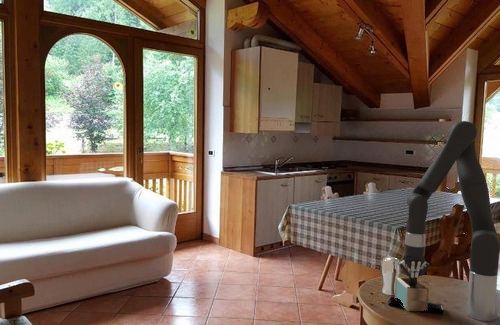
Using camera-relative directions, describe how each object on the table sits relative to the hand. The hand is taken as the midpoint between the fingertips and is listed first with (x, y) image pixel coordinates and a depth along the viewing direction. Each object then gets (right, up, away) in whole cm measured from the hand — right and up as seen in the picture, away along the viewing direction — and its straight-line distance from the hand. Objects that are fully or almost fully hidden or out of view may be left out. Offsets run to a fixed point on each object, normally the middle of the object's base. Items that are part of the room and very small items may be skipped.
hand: (412, 285), depth 166 cm
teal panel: (-5, -8, 0) cm, 9 cm away
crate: (-1, -8, +1) cm, 8 cm away
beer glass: (-5, -7, +13) cm, 15 cm away
